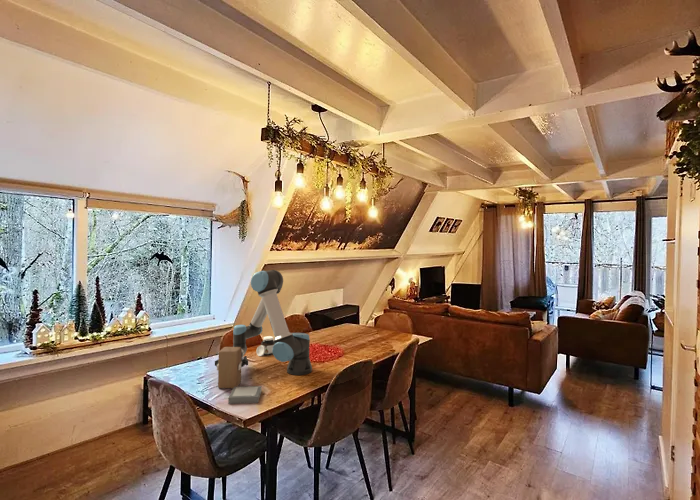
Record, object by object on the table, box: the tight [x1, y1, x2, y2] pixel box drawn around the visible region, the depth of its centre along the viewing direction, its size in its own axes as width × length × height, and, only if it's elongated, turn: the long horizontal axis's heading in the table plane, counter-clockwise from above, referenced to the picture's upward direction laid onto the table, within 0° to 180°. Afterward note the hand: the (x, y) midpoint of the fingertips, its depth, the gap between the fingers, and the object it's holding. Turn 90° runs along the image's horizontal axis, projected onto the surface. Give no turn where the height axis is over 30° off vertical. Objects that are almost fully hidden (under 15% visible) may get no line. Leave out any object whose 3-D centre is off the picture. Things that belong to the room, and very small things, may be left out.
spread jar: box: [255, 335, 274, 357], centre depth 264 cm, size 12×11×12 cm
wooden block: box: [217, 346, 242, 389], centre depth 206 cm, size 10×10×20 cm
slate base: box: [227, 385, 263, 405], centre depth 191 cm, size 14×14×3 cm
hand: (228, 367), depth 202 cm, fingers closed on wooden block, 11 cm apart
